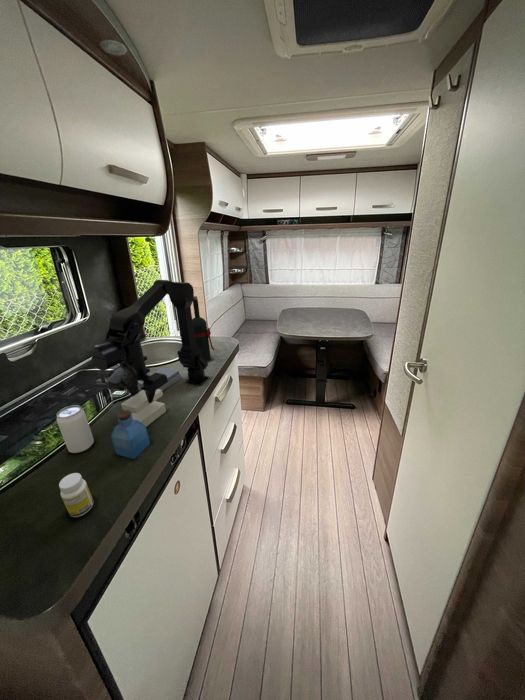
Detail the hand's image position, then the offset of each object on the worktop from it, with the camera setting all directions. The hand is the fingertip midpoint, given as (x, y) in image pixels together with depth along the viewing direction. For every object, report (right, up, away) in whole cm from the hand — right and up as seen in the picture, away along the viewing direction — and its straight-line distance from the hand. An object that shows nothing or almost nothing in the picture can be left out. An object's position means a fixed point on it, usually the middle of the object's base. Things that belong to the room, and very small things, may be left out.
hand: (143, 400), depth 88 cm
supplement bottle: (-2, -19, -27) cm, 33 cm away
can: (-14, -12, -8) cm, 20 cm away
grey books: (-3, +2, +23) cm, 23 cm away
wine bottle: (+11, +11, +44) cm, 46 cm away
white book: (0, 0, 0) cm, 0 cm away
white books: (0, -6, +3) cm, 7 cm away
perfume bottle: (+2, -12, -10) cm, 16 cm away
